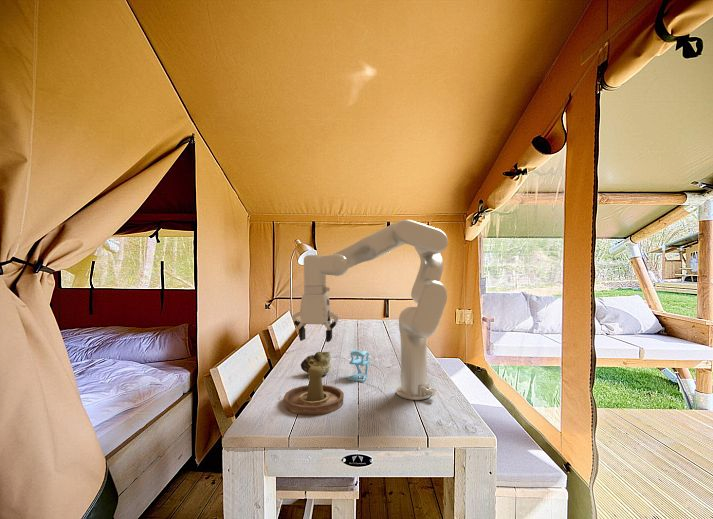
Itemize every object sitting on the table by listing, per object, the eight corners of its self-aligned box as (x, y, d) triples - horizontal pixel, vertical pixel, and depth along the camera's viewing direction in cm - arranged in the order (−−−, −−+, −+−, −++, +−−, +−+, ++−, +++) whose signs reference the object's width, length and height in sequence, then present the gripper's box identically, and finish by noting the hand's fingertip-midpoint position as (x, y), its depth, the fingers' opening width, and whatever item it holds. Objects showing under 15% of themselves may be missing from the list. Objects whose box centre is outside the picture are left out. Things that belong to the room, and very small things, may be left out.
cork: (315, 394, 118) (315, 363, 118) (327, 398, 114) (328, 366, 114) (302, 399, 113) (302, 367, 113) (315, 404, 109) (315, 370, 110)
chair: (372, 376, 141) (372, 348, 141) (363, 382, 133) (363, 352, 134) (356, 374, 144) (356, 346, 145) (346, 379, 137) (347, 350, 137)
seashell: (314, 369, 151) (314, 347, 151) (335, 373, 145) (335, 350, 145) (299, 375, 142) (299, 352, 142) (320, 380, 136) (320, 355, 136)
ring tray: (355, 402, 113) (355, 395, 113) (307, 421, 99) (307, 413, 99) (319, 387, 128) (319, 380, 128) (272, 402, 114) (273, 394, 114)
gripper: (342, 290, 116) (342, 339, 115) (296, 289, 120) (297, 337, 120) (334, 291, 109) (335, 344, 108) (287, 291, 113) (287, 341, 113)
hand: (315, 340), depth 114 cm, fingers open, 9 cm apart
